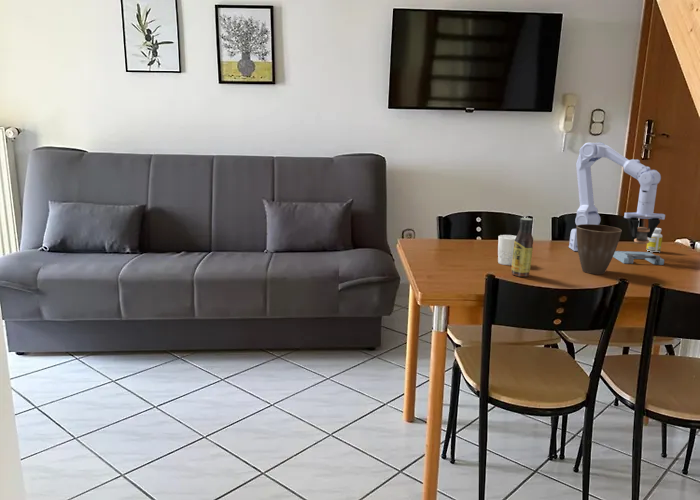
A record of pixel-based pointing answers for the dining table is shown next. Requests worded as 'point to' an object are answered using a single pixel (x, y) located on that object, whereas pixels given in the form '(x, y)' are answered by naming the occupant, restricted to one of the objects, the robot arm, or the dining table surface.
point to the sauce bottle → (523, 249)
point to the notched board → (623, 258)
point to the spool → (642, 235)
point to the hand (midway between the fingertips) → (641, 237)
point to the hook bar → (643, 257)
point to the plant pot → (596, 246)
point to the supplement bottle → (655, 241)
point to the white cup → (505, 249)
